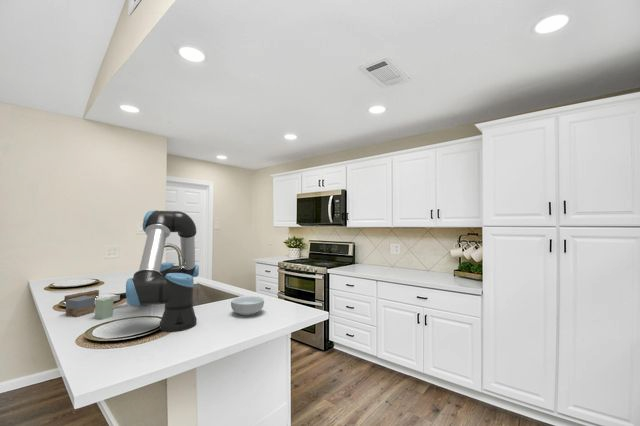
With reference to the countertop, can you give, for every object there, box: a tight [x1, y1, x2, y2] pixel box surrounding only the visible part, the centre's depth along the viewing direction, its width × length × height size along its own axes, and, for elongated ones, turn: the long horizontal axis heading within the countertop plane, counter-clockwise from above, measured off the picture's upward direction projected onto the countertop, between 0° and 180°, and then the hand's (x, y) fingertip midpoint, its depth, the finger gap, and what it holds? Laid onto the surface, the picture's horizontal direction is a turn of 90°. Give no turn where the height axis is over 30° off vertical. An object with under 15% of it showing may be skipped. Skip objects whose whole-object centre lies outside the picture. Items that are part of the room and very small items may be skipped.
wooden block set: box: [63, 289, 100, 303], centre depth 167 cm, size 17×6×18 cm
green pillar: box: [94, 296, 114, 321], centre depth 140 cm, size 5×5×9 cm
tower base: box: [65, 305, 95, 318], centre depth 144 cm, size 8×8×4 cm
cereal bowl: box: [230, 295, 265, 317], centre depth 149 cm, size 17×17×7 cm
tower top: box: [65, 296, 96, 309], centre depth 144 cm, size 8×8×4 cm
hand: (116, 301), depth 146 cm, fingers open, 13 cm apart
